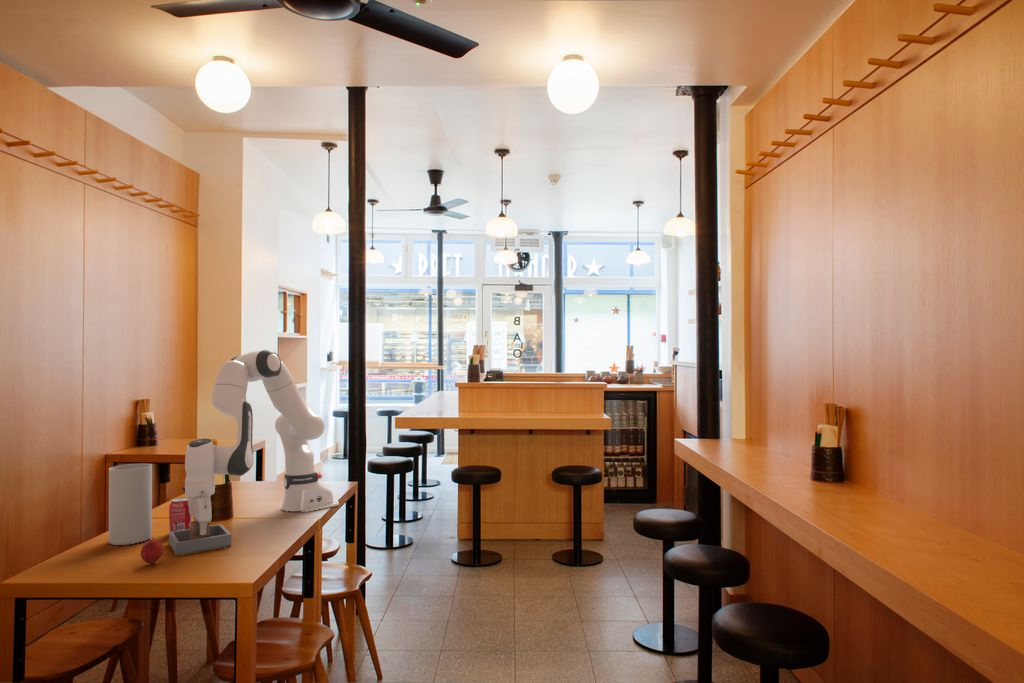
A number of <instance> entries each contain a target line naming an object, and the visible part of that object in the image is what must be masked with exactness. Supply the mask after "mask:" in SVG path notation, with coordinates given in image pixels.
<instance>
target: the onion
mask: <svg viewBox="0 0 1024 683" xmlns="http://www.w3.org/2000/svg"><path fill="white" fill-rule="evenodd" d="M163 553H164V547H163V545H162V543H161V542H160V541H158V540H156V539H155V537H154V536H152V537H151V538H150V539H149V540H147V541H146V542H145V544H144V545H143V546H142V548H141V550H140V557H141V559H142V561H144V562H145V563H147V564H149V565H154V564H155V563H156V562H157V561H158V560H159V559H160V558H162V556H163ZM153 563H154V564H153Z"/></svg>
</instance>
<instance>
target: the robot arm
mask: <svg viewBox="0 0 1024 683" xmlns="http://www.w3.org/2000/svg"><path fill="white" fill-rule="evenodd" d="M258 381H262V384H263V387H264V388H265V391H266V393H267V395H268V397H269V399H270V401H271V403H272V405H273V407H274V408H275V409H276V410H277V411H278V412H279V413H280V415H279V416H278V417H277V419H276V420H275V422H274V427H275V431H276V433H277V434H278V435H279V437H280V440H281V443H282V446H283V451H284V457H285V458H284V459H285V460H284V461H285V462H284V464H285V473H284V477H283V478H284V479H283V486H284V496H283V501H282V504H281V505H282V506H281V508H280V509H282V510H281V511H283V510H285V511H284V512H288V511H301V512H300V513H309V511H310V512H314V510H315V511H318V510H319V509H320V510H325V509H328V508H333V507H337V506H339V505H340V503H339V501H338V499H334V494H333V491H332V489H331V488H330V487H328V486H327V485H325V484H324V483H322V482H321V481H320V480H321V479H322V478H323V474H322V473H320V472H319V473H318V472H315V466H314V465H315V462H314V461H315V459H314V458H315V455H314V454H315V453H314V452H313V449H312V448H311V447H310V444H309V441H313V440H316V439H319V438H321V436H322V435H323V433H324V431H325V427H326V426H325V422H324V420H323V417H320V416H319V415H318V414H316V413H315V412H314V411H313V409H312V407H310V405H309V404H308V403H307V402H306V400H305V398H304V397H303V395H301V392H300V390H299V388H298V386H297V384H296V382H295V379H294V378H293V376H292V374H291V372H290V370H289V369H288V367H287V366H286V364H285V363H284V361H283V360H282V359H281V358H280V356H279V355H278V353H277V352H276V351H274V350H270V349H263V350H258V351H257V350H256V351H252V352H247V353H243V354H241V355H237V356H234V357H233V358H231V359H230V360H227V361H225V362H224V363H223V364H222V365H221V367H220V369H219V371H218V373H217V375H216V378H215V381H214V385H213V389H212V392H211V403H212V405H213V407H214V408H215V409H216V410H218V411H219V412H220V413H221V414H224V415H226V416H229V417H231V418H233V419H235V420H236V422H237V425H236V427H237V431H236V432H237V434H236V443H235V445H234V444H233V445H224V446H223V445H216V444H214V442H213V440H212V439H210V438H197V439H194V440H191V441H190V442H188V443H187V446H186V449H185V457H184V458H185V459H184V470H185V472H186V473H185V480H184V496H185V498H188V505H189V511H190V513H191V514H192V519H193V521H198V522H199V525H200V529H199V533H200V535H205V534H206V528H207V523H208V522H210V523H211V522H212V515H213V514H212V500H211V498H212V497H211V496H212V495H214V494H215V491H216V489H215V488H216V477H215V475H230V476H237V477H238V476H239V477H240V476H244V475H245V474H246V473H248V472H249V471H250V470H251V469H252V467H253V466H254V452H253V451H254V450H253V425H254V424H253V423H254V421H253V419H254V418H253V415H254V414H253V408H252V405H251V404H250V403H249V402H248V401H247V390H248V385H249V384H248V383H250V382H251V383H252V382H258Z"/></svg>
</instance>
